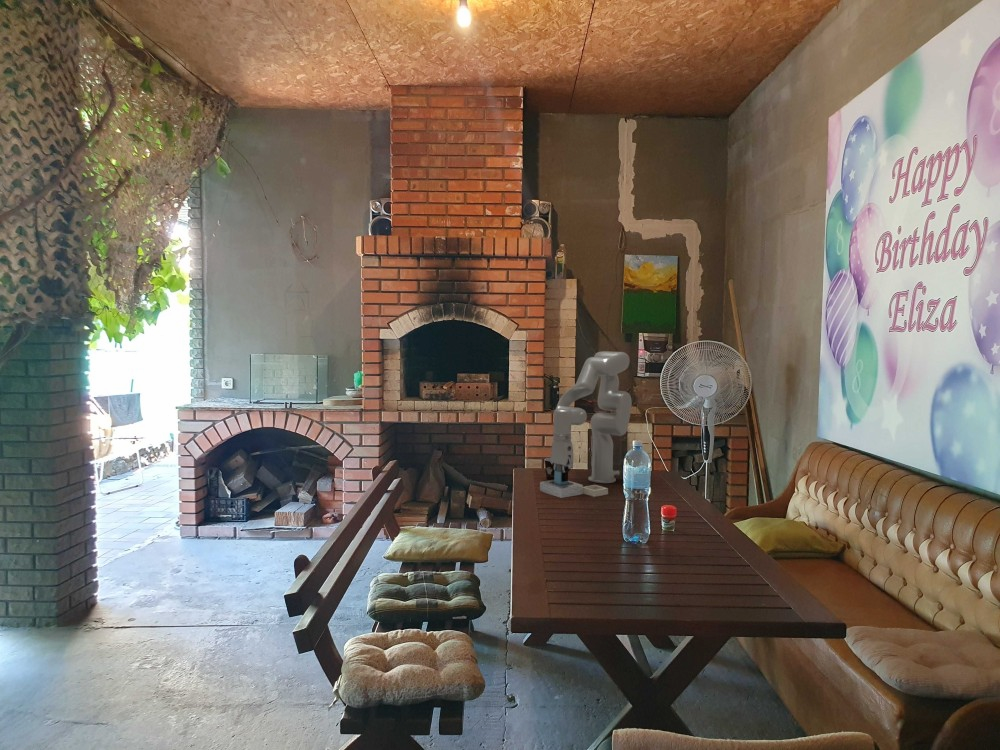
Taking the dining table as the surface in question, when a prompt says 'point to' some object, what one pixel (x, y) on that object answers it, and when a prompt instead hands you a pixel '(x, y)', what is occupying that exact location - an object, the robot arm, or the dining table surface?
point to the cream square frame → (595, 490)
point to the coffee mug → (549, 469)
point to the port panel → (561, 489)
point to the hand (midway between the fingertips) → (561, 479)
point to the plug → (559, 475)
